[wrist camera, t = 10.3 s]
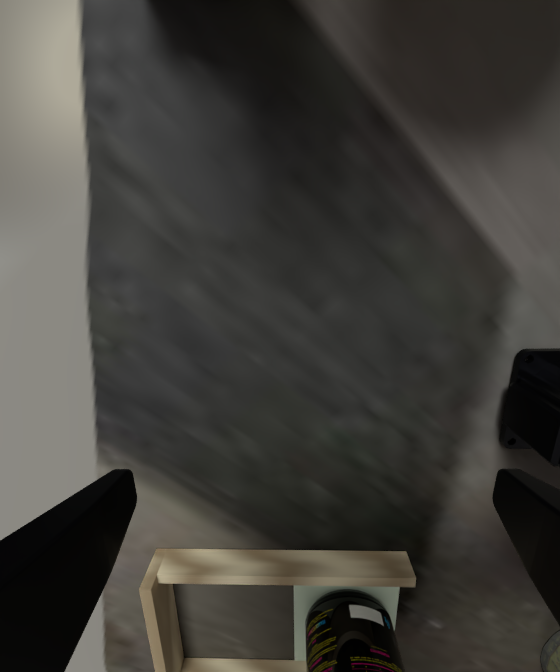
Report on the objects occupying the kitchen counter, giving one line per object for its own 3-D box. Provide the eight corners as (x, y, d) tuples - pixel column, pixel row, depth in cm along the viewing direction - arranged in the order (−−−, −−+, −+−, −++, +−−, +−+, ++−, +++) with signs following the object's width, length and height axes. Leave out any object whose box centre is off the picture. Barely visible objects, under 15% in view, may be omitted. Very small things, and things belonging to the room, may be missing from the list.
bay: (175, 663, 28) (162, 711, 26) (156, 548, 25) (139, 589, 22) (392, 668, 28) (404, 718, 25) (406, 551, 24) (422, 594, 21)
